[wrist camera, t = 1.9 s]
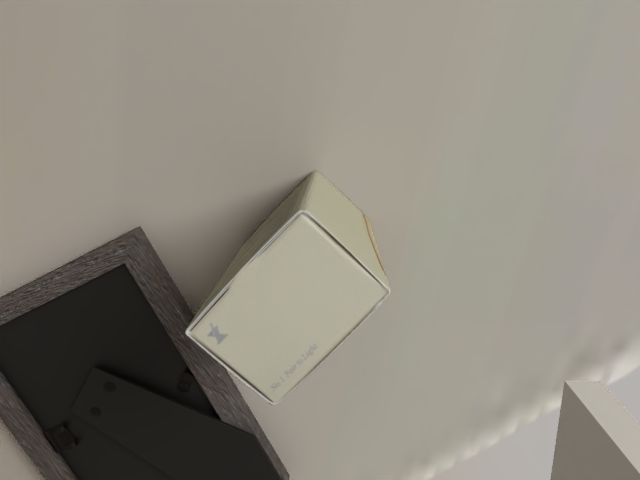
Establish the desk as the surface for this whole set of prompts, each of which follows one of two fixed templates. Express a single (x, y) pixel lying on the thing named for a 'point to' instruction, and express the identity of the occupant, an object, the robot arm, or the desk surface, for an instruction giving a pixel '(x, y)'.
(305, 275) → the skincare box
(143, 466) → the picture frame
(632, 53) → the desk surface
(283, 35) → the desk surface
